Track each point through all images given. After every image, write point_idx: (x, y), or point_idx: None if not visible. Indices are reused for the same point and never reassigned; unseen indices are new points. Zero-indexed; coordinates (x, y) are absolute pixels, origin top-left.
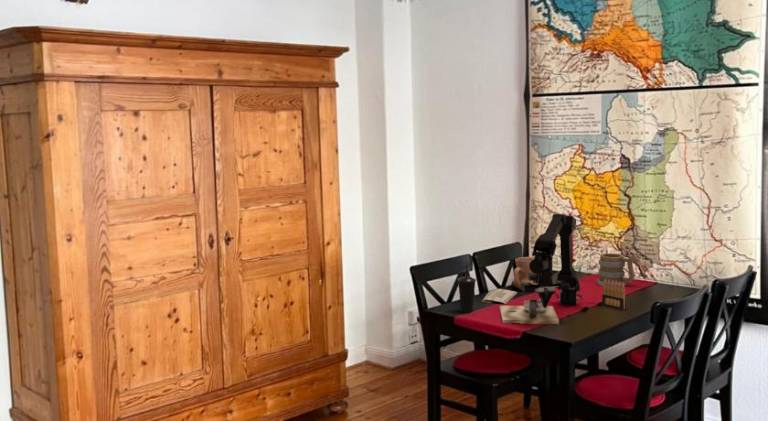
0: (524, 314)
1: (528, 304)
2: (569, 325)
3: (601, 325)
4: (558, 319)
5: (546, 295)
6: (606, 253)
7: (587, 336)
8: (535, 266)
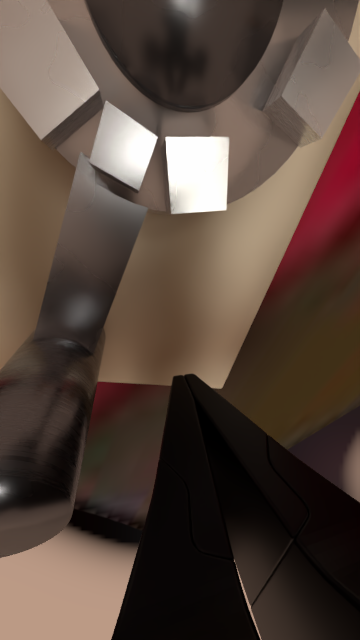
0: (2, 206)
1: (7, 93)
2: (245, 392)
3: (344, 394)
4: (227, 375)
5: (266, 584)
6: None
7: None
8: None
